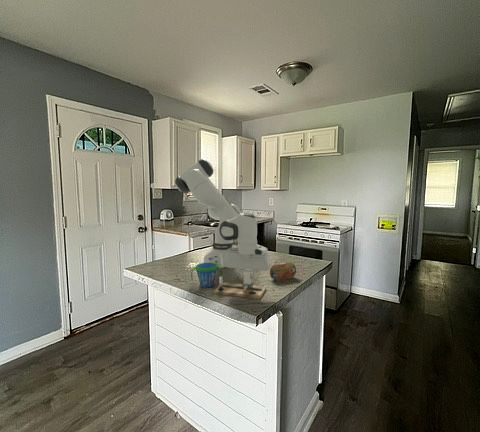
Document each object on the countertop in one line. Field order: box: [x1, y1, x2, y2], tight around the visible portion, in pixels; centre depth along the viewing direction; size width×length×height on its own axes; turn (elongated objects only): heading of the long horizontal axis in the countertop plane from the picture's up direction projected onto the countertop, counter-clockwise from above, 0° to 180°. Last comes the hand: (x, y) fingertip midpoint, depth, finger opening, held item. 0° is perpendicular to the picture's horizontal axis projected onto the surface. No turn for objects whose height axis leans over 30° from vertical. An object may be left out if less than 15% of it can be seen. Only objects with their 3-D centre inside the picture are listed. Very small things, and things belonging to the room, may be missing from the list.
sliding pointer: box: [242, 269, 254, 292], centre depth 122 cm, size 4×7×8 cm, turn 162°
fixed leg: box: [218, 276, 224, 290], centre depth 123 cm, size 2×2×6 cm
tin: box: [269, 262, 297, 282], centre depth 140 cm, size 15×3×8 cm, turn 114°
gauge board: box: [212, 281, 267, 300], centre depth 124 cm, size 22×12×2 cm, turn 72°
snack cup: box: [190, 262, 224, 289], centre depth 132 cm, size 16×10×10 cm
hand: (247, 278), depth 123 cm, fingers closed on sliding pointer, 3 cm apart
